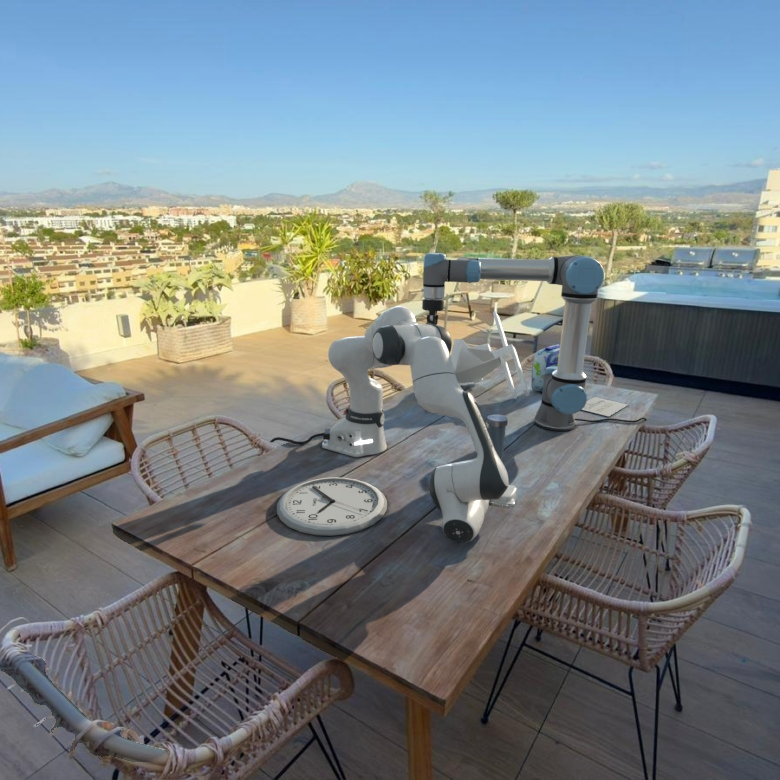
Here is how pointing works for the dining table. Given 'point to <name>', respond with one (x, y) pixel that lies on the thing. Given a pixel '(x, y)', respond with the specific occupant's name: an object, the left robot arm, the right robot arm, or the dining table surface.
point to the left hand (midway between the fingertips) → (482, 477)
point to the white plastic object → (485, 360)
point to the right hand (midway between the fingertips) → (430, 357)
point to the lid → (497, 420)
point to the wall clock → (331, 506)
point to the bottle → (498, 438)
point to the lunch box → (543, 365)
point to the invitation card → (603, 406)
